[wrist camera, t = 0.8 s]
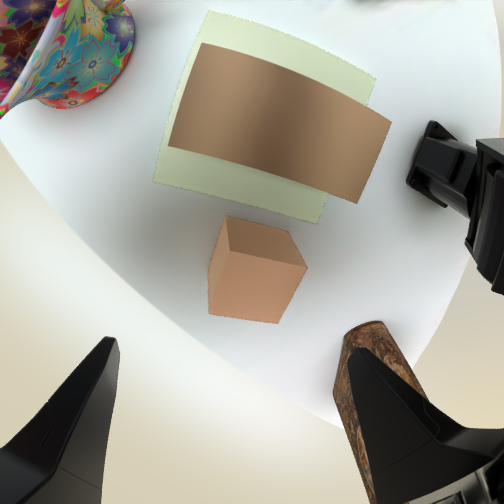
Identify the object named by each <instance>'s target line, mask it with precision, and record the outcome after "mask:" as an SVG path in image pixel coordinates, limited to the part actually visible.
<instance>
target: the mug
mask: <svg viewBox="0 0 504 504" xmlns="http://www.w3.org/2000/svg"><path fill="white" fill-rule="evenodd" d="M124 1H125V0H0V119H1V118H2V117H3V116H4V115H5V114H6V113H7V112H8V111H9V110H11V109H12V108H13V107H15V106H16V105H18V104H20V103H22V102H24V101H26V100H29V99H38V100H39V101H40V102H42V103H43V104H45V105H47V106H49V107H53V108H58V109H66V108H72V107H76V106H79V105H82V104H84V103H86V102H88V101H90V100H91V99H93V98H95V97H96V96H98V95H99V94H100V93H101V92H103V91H104V90H105V89H106V88H107V87H108V86H109V85H110V84H111V83H112V82H113V81H114V80H115V78H116V77H117V76H118V75H119V73H120V72H121V70H122V69H123V67H124V65H125V64H126V62H127V60H128V57H129V55H130V52H131V50H132V46H133V42H134V33H135V30H134V21H133V18H132V15H131V13H130V11H129V9H128V8H127V7H126V6H125V5H124V4H123V2H124Z"/></svg>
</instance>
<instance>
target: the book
mask: <svg viewBox="0 0 504 504" xmlns="http://www.w3.org/2000/svg"><path fill="white" fill-rule="evenodd" d="M360 346H365V347H367V348H368V349H369V350H370V351H371V352H372V353H374V354H375V355H376V356H377V357H378V358H379V359H381V360H382V361H383V362H384V363H385V364H386V365H387V366H389V367H390V368H391V369H392V370H393V371H394V372H396V373H397V374H398V375H399V376H400V377H401V378H403V379H404V380H405V381H406V382H407V383H408V384H409V385H411V386H412V387H413V388H414V389H415V390H416V391H418V392H419V393H420V394H421V395H422V396H423V397H425V398H426V399H427V400H428V398H427V396H426V394H425V392H424V391H423V389H422V387H421V385H420V383H419V381H418V380H417V378H416V376H415V374H414V373H413V371H412V369H411V367H410V366H409V364H408V362H407V361H406V359H405V357H404V356H403V354H402V352H401V351H400V349H399V347H398V346H397V344H396V342H395V341H394V339H393V337H392V336H391V334H390V333H389V331H388V329H387V328H386V326H385V325H384V323H383V322H381V321H371V322H367V323H364V324H361V325H359V326H357V327H355V328H353V329H352V330H350V331H349V332H348V333H346V334H345V336H344V340H343V345H342V351H341V356H340V361H339V366H338V370H337V375H336V380H335V384H334V390H333V397H334V400H335V403H336V406H337V409H338V412H339V414H340V417H341V420H342V423H343V425H344V428H345V431H346V434H347V437H348V440H349V442H350V445H351V448H352V451H353V454H354V457H355V459H356V463H357V466H358V468H359V471H360V474H361V477H362V480H363V483H364V486H365V489H366V492H367V495H368V498H369V502H370V504H377V503H376V498H375V492H374V487H373V482H372V477H371V475H372V474H371V472H370V467H369V463H368V458H367V454H366V449H365V445H364V441H363V437H362V432H361V428H360V424H359V420H358V416H357V413H356V409H355V405H354V401H353V397H352V392H351V386H350V380H349V374H348V368H347V359H348V358H349V356H350V355H351V353H352V352H353V350H354V349H355V348H356V347H360ZM428 401H429V400H428ZM404 504H409V502H407V503H404Z"/></svg>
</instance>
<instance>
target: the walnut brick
mask: <svg viewBox="0 0 504 504" xmlns="http://www.w3.org/2000/svg"><path fill="white" fill-rule="evenodd" d="M391 123H392V122H391V121H389V120H388V119H386V118H385V117H383V116H381V115H380V114H378V113H376V112H375V111H373V110H371V109H370V108H368V107H366V106H365V105H363V104H361V103H359V102H357V101H356V100H354V99H352V98H350V97H348V96H346V95H344V94H342V93H341V92H339V91H337V90H335V89H333V88H331V87H328V86H326V85H324V84H322V83H320V82H318V81H316V80H313V79H311V78H309V77H307V76H304V75H302V74H300V73H297V72H295V71H292V70H290V69H287V68H285V67H282V66H280V65H277V64H274V63H271V62H269V61H266V60H263V59H260V58H257V57H254V56H251V55H247V54H244V53H241V52H237V51H234V50H230V49H227V48H223V47H219V46H215V45H211V44H207V43H201V46H200V48H199V51H198V53H197V56H196V58H195V61H194V64H193V66H192V69H191V72H190V75H189V77H188V80H187V83H186V86H185V89H184V92H183V95H182V98H181V101H180V104H179V108H178V111H177V114H176V118H175V121H174V124H173V128H172V131H171V135H170V139H169V142H168V146H170V147H174V148H179V149H183V150H187V151H191V152H195V153H200V154H204V155H207V156H211V157H215V158H219V159H223V160H226V161H230V162H234V163H237V164H241V165H244V166H248V167H251V168H254V169H258V170H261V171H264V172H268V173H271V174H274V175H277V176H280V177H283V178H286V179H289V180H292V181H295V182H298V183H301V184H304V185H307V186H310V187H313V188H316V189H318V190H321V191H324V192H327V193H329V194H332V195H335V196H337V197H340V198H343V199H345V200H348V201H351V202H353V203H356V204H357V202H358V200H359V198H360V196H361V194H362V192H363V189H364V187H365V185H366V183H367V181H368V178H369V176H370V174H371V172H372V169H373V167H374V165H375V162H376V160H377V158H378V155H379V153H380V150H381V148H382V146H383V143H384V141H385V138H386V136H387V133H388V131H389V128H390V126H391Z"/></svg>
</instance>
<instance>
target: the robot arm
mask: <svg viewBox="0 0 504 504" xmlns="http://www.w3.org/2000/svg"><path fill="white" fill-rule="evenodd" d="M434 125H435V128H434ZM476 147H477V148H475V147H472V146H469V145H467V144H464V143H461V142H459V141H458V140H457V139H456V138H455V137H453V136H452V135H451V134H450V133H449V132H448V131H447V130H446V129H445V128H444V127H443V126H441V125H440V124H439V123H438V122H436V121H431V122H430V123H429V126H428V129H427V132H426V134H425V137H424V139H423V142H422V145H421V147H420V150H419V152H418V155H417V157H416V159H415V162H414V164H413V167H412V169H411V171H410V173H409V176H408V178H407V185H408V186H410V187H412V188H413V189H415V190H417V191H418V192H420V193H422V194H423V195H425V196H426V197H428V198H430V199H431V200H433V201H434V202H436V203H438V204H439V205H441V206H442V207H444V208H446V207H447V206H448V205H449V206H450V207H452V208H453V209H455V210H456V211H458V212H459V213H461V214H462V215H463V216H465V217H466V218H468V219H469V220H470V223H469V229H468V234H467V237H466V239H465V246H466V247H467V249H468V250H469V252H470V254H471V255H472V257H473V258H474V260H475V261H476V263H477V270H478V271H479V273H480V274H481V275H482V276H483V277H484V278H485V279H486V280H487V281H489V283H491V284H492V288H491V290H492V291H493V292H496V293H499V294H502V295H504V138H493V139H476ZM412 180H413V182H412ZM411 182H412V183H411ZM119 361H120V351H119V347H118V343H117V340H116V338H114V337H108V336H106V337H104V338H103V339H102V340H101V341H100V342H99V343H98V344H97V345H96V347H94V349H93V350H92V351H91V352H90V353H89V354H88V355H87V356H86V357H85V359H84V360H83V361H82V362H81V363H80V364H79V365H78V366H77V367H76V369H75V370H74V371H73V372H72V373H71V374H70V376H68V378H67V379H66V380H65V381H64V382H63V383H62V384H61V386H60V387H59V388H58V389H57V390H56V392H55V393H54V394H53V395H52V396H51V398H50V399H49V400H48V402H46V403H45V404H44V406H43V407H42V408H41V409H40V410H39V412H38V413H37V414H36V415H35V416H34V417H33V418H32V419H31V420H30V421H29V422H28V424H26V426H25V427H23V428H22V429H21V430H20V431H19V432H18V433H17V434H16V435H15V436H14V437H13V438H12V439H11V440H10V441H9V442H8V443H7V444H6V445H5V446H3V447H2V448H0V504H101V497H102V490H101V489H102V483H103V473H104V464H105V456H106V449H107V441H108V436H109V429H110V424H111V418H112V413H113V407H114V403H115V397H116V390H117V379H118V370H119ZM347 368H348V374H349V380H350V386H351V392H352V397H353V401H354V405H355V409H356V413H357V416H358V420H359V424H360V428H361V432H362V437H363V441H364V445H365V449H366V454H367V458H368V463H369V467H370V472H371V474H372V475H371V477H372V482H373V487H374V492H375V498H376V503H377V504H404V503H407V502H409V504H504V428H503V429H478V428H467V427H464V426H462V425H460V424H458V423H457V422H456V421H454V420H453V419H451V418H450V417H449V416H447V415H446V414H444V413H443V412H442V411H440V410H439V409H437V408H436V407H435V406H434V405H433V404H432V403H430V402H429V401H428V400H427V399H426V398H425V397H423V396H422V395H421V394H420V393H419V392H418V391H416V390H415V389H414V388H413V387H412V386H411V385H409V384H408V383H407V382H406V381H405V380H404V379H403V378H401V377H400V376H399V375H398V374H397V373H396V372H394V371H393V370H392V369H391V368H390V367H389V366H387V365H386V364H385V363H384V362H383V361H382V360H381V359H379V358H378V357H377V356H376V355H375V354H374V353H372V352H371V351H370V350H369V349H368V348H367V347H365V346H360V347H356V348H355V349H354V350H353V352H352V353H351V355H350V356H349V358H348V359H347Z"/></svg>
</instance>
